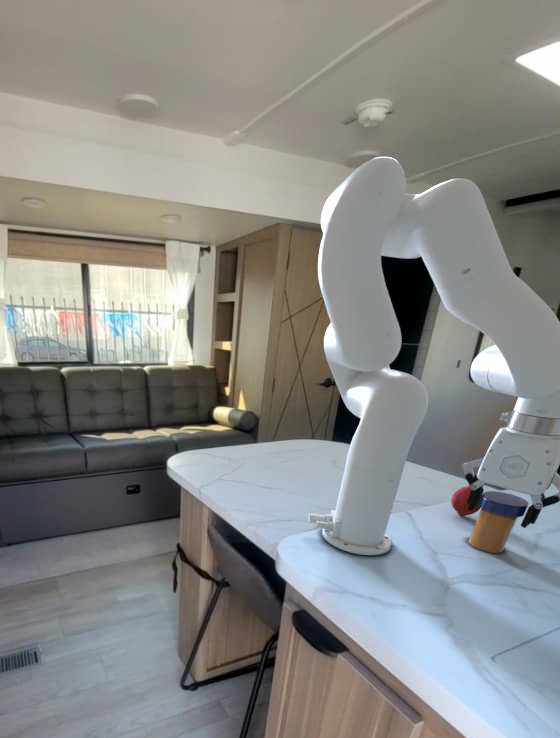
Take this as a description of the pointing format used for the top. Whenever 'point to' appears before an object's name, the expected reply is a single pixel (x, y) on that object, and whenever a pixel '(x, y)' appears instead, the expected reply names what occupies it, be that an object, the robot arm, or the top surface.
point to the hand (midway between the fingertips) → (497, 516)
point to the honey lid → (503, 504)
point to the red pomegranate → (463, 501)
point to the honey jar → (491, 531)
